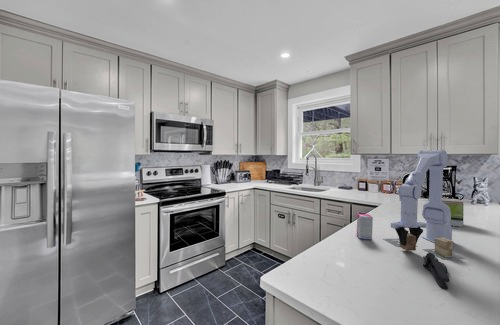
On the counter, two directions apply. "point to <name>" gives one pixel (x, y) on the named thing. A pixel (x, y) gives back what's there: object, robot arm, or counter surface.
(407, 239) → the walnut block
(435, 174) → the robot arm
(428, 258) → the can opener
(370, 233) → the supplement box
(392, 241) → the tile
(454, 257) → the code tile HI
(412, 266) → the counter surface
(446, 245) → the oak block
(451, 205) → the tea box
